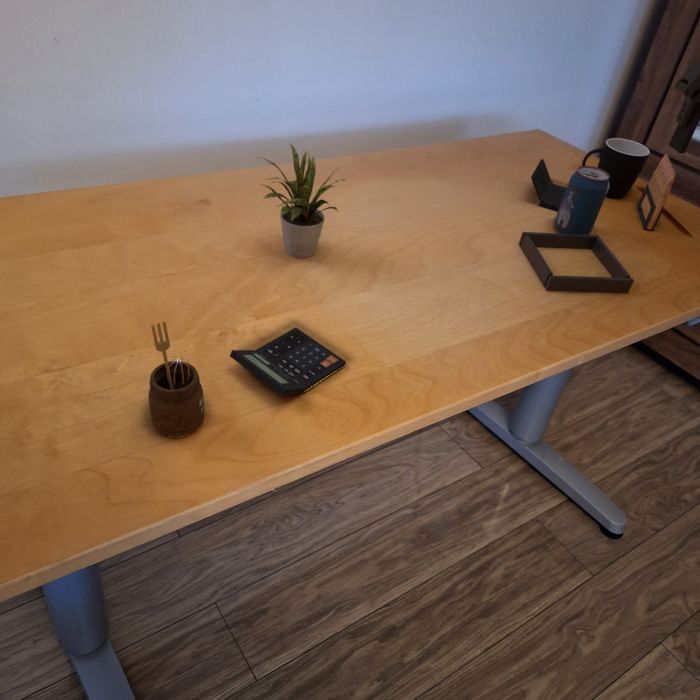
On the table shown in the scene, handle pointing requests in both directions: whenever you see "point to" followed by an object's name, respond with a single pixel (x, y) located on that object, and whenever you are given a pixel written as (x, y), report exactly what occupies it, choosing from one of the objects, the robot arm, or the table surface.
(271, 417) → the table surface
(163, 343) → the utensil holder
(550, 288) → the dark brown square frame
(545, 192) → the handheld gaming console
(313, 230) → the house plant
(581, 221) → the soda can
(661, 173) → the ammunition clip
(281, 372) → the calculator
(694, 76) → the robot arm
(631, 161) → the mug
